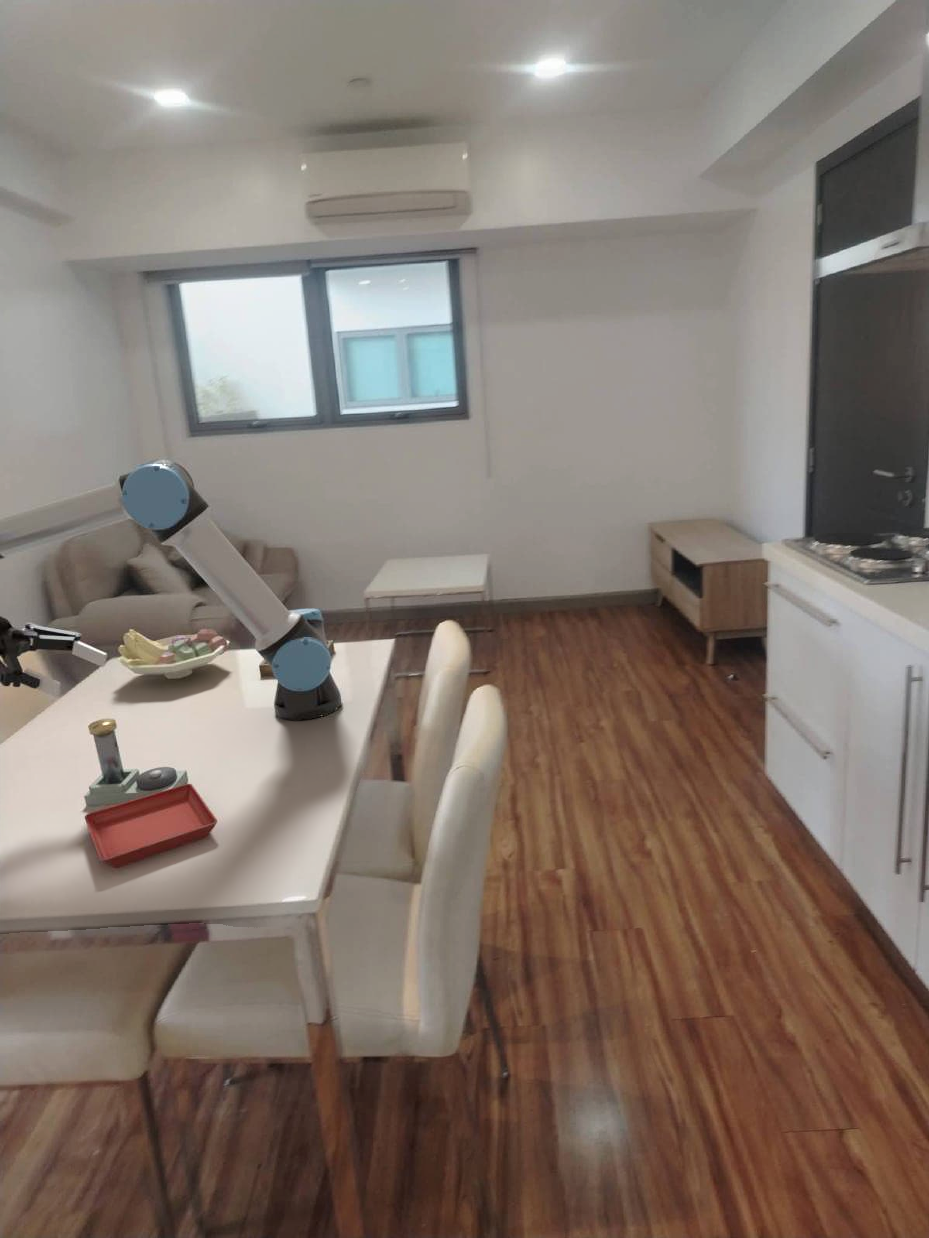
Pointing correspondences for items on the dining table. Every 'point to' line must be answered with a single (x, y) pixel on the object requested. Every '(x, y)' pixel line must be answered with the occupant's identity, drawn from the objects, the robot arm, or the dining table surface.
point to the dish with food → (171, 653)
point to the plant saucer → (149, 825)
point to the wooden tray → (267, 669)
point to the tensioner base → (134, 786)
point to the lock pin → (107, 750)
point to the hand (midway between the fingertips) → (82, 674)
